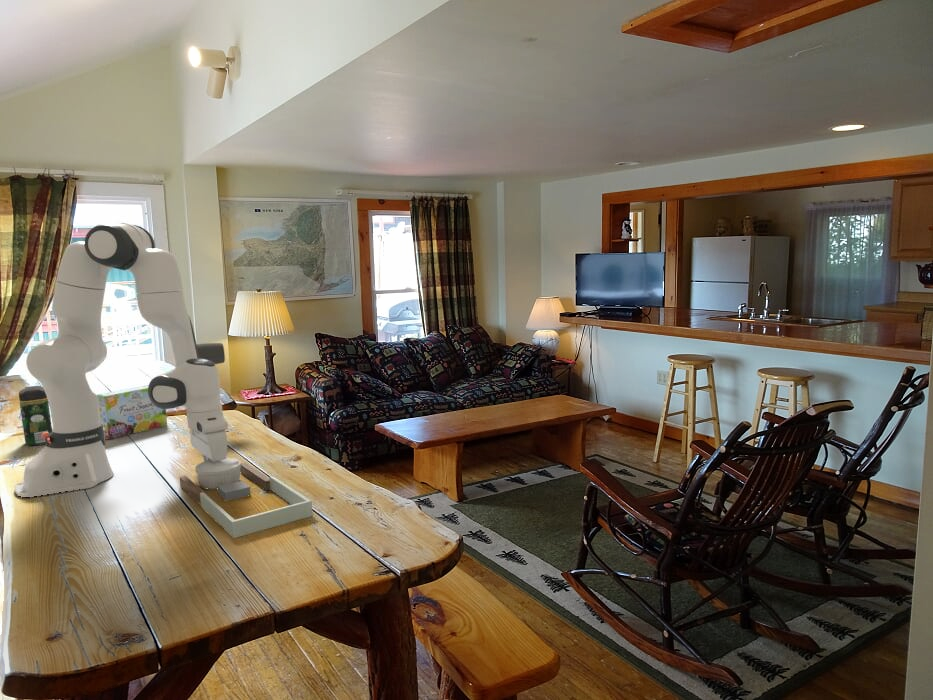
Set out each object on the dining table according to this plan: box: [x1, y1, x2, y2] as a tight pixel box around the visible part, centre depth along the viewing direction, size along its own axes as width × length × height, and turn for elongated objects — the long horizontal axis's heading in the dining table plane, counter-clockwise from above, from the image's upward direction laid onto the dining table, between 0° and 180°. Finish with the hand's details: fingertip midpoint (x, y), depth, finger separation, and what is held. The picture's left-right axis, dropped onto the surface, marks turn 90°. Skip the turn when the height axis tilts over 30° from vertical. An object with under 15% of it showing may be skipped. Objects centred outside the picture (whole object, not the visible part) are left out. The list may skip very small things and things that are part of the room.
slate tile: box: [217, 480, 251, 502], centre depth 163 cm, size 6×6×2 cm
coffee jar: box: [18, 385, 53, 446], centre depth 216 cm, size 10×8×19 cm
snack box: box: [96, 384, 168, 440], centre depth 226 cm, size 21×6×15 cm, turn 148°
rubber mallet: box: [196, 342, 226, 365], centre depth 223 cm, size 12×8×30 cm, turn 117°
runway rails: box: [179, 462, 271, 505], centre depth 168 cm, size 17×19×2 cm
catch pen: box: [200, 475, 313, 539], centre depth 151 cm, size 18×23×4 cm
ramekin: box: [194, 457, 242, 490], centre depth 171 cm, size 11×11×5 cm
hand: (210, 469), depth 178 cm, fingers closed
